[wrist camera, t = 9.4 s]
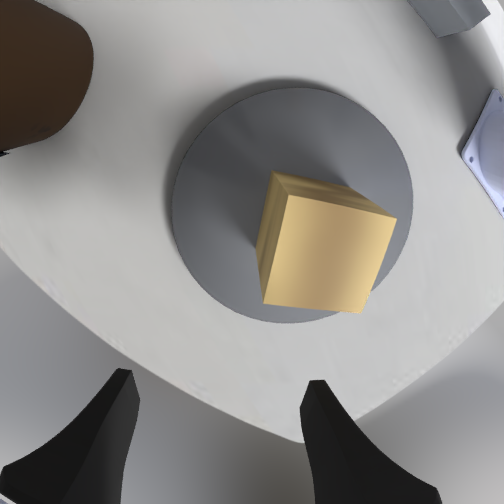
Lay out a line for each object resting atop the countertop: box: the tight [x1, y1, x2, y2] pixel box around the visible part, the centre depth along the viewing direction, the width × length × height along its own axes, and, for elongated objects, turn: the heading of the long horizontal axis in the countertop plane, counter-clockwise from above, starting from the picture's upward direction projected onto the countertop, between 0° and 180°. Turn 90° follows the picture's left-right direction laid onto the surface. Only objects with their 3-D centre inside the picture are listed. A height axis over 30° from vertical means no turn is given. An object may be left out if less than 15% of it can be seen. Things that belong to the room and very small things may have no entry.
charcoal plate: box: [172, 88, 413, 323], centre depth 18 cm, size 16×16×1 cm
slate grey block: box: [407, 0, 490, 38], centre depth 10 cm, size 4×4×4 cm
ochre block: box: [255, 170, 397, 313], centre depth 15 cm, size 5×5×6 cm
